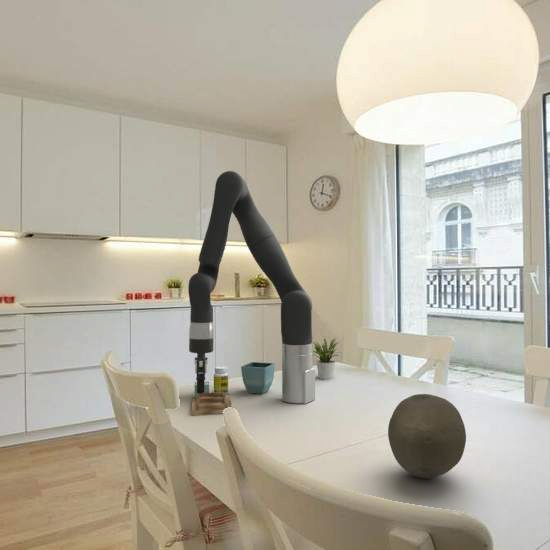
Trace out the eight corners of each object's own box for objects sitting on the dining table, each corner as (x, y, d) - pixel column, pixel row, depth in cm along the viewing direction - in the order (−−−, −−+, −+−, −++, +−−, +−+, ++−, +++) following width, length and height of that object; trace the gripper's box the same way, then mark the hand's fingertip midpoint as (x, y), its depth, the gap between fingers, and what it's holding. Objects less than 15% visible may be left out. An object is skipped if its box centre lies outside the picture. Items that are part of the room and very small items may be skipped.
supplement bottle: (222, 395, 145) (221, 369, 145) (210, 394, 147) (210, 367, 147) (231, 392, 149) (231, 366, 149) (219, 390, 151) (219, 365, 151)
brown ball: (371, 472, 86) (370, 392, 86) (423, 457, 93) (422, 383, 94) (431, 503, 74) (430, 410, 74) (485, 483, 81) (484, 399, 82)
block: (209, 395, 145) (209, 381, 145) (209, 399, 141) (209, 384, 141) (194, 396, 145) (194, 382, 145) (194, 400, 140) (194, 385, 140)
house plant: (349, 375, 176) (349, 332, 176) (347, 382, 163) (346, 336, 163) (313, 373, 179) (312, 331, 180) (307, 380, 166) (307, 336, 166)
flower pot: (240, 393, 147) (240, 366, 147) (251, 388, 155) (251, 361, 156) (265, 396, 144) (265, 367, 144) (275, 390, 152) (275, 363, 152)
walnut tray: (229, 399, 140) (229, 391, 140) (232, 413, 125) (232, 404, 125) (192, 401, 138) (192, 393, 138) (191, 415, 124) (191, 406, 124)
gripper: (214, 339, 136) (213, 395, 136) (213, 334, 150) (212, 385, 150) (188, 339, 135) (187, 396, 134) (189, 334, 149) (189, 385, 149)
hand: (200, 390), depth 142 cm, fingers open, 6 cm apart
